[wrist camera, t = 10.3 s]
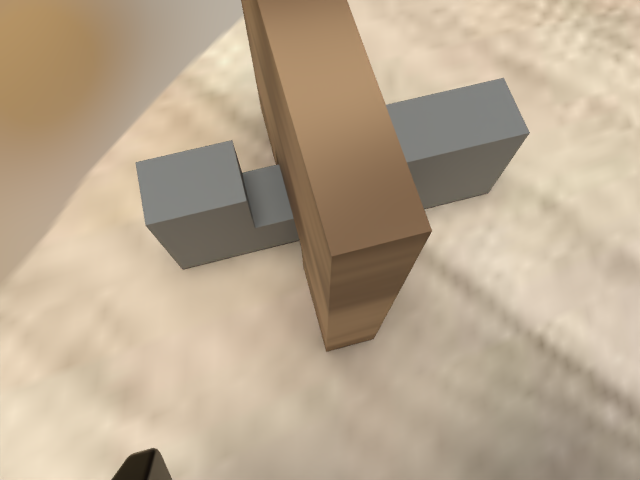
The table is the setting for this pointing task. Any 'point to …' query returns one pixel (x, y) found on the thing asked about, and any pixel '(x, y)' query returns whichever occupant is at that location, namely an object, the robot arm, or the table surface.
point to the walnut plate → (336, 162)
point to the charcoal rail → (269, 189)
